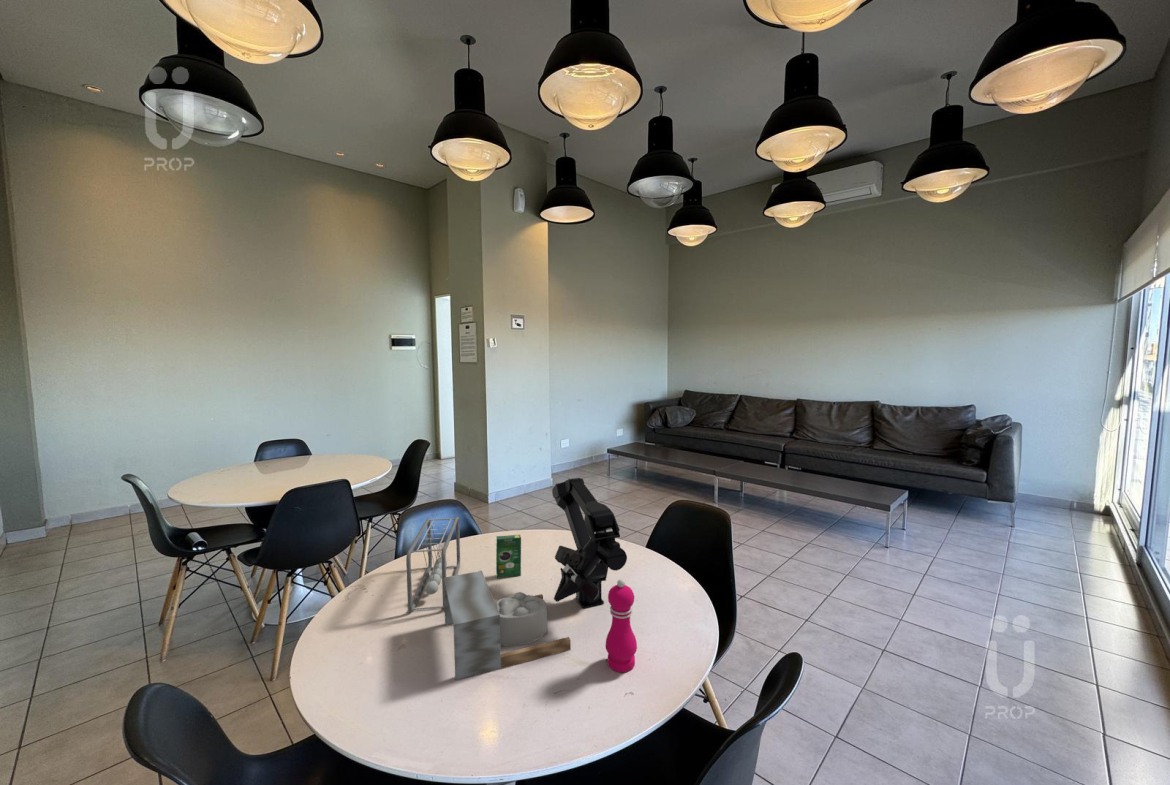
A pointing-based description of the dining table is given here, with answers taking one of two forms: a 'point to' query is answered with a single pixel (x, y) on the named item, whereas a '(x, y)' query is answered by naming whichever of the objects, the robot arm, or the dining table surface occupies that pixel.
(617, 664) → the pepper mill
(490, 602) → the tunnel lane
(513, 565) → the coffee box
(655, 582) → the dining table surface
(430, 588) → the newton's cradle
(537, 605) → the grey animal paw
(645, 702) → the dining table surface
